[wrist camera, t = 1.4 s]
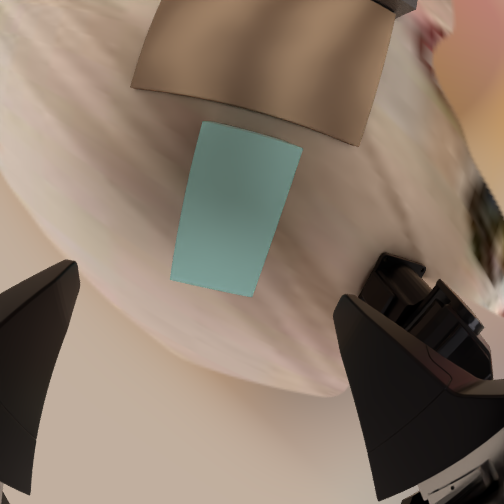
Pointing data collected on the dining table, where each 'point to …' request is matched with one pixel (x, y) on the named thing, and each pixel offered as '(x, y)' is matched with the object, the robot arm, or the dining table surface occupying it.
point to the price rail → (398, 6)
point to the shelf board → (272, 58)
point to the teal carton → (232, 207)
